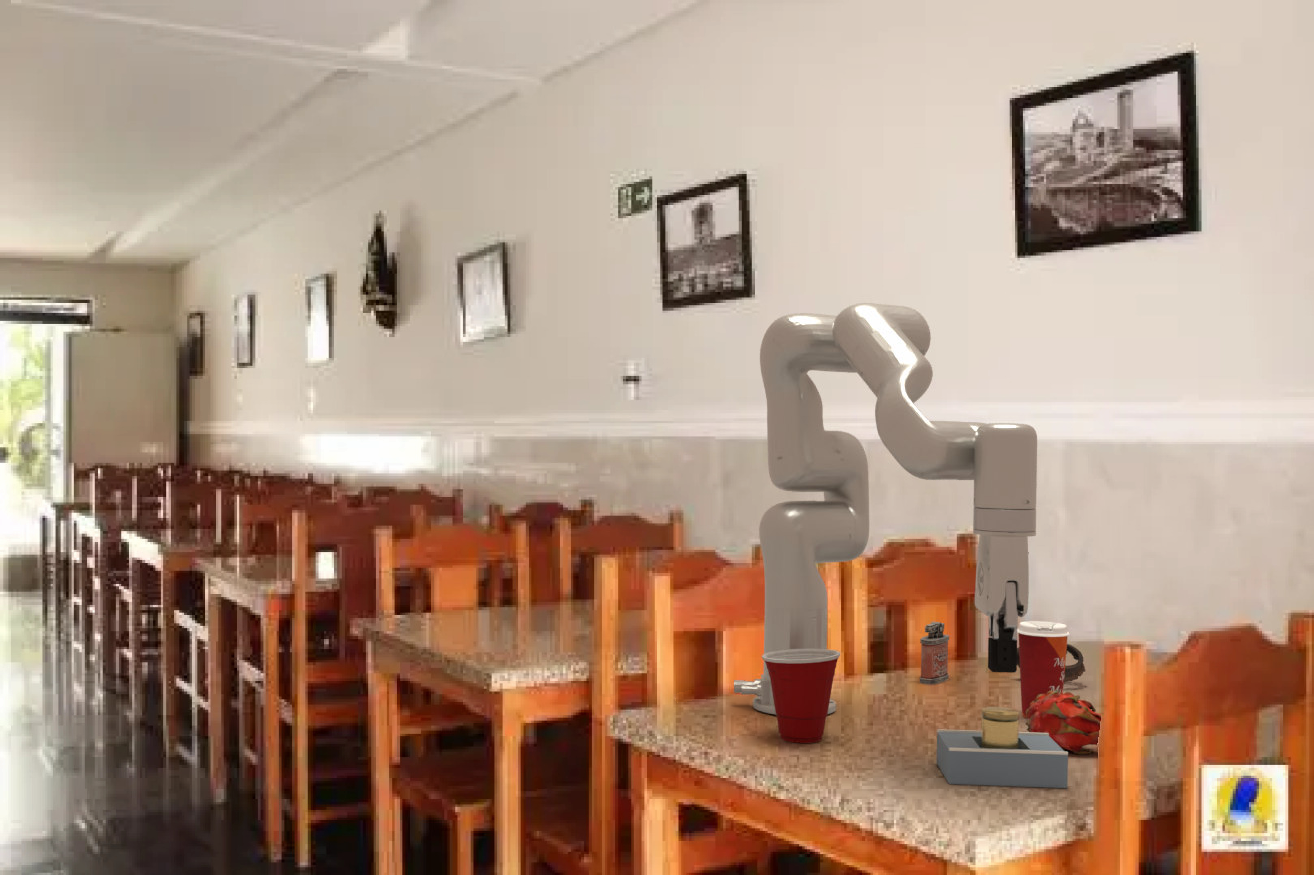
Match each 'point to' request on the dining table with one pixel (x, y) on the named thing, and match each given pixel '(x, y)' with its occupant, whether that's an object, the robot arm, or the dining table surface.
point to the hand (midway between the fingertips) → (1002, 670)
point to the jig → (1001, 760)
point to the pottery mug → (1070, 670)
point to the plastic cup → (801, 691)
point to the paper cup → (1041, 659)
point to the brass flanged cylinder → (999, 728)
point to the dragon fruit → (1064, 720)
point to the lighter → (934, 654)
